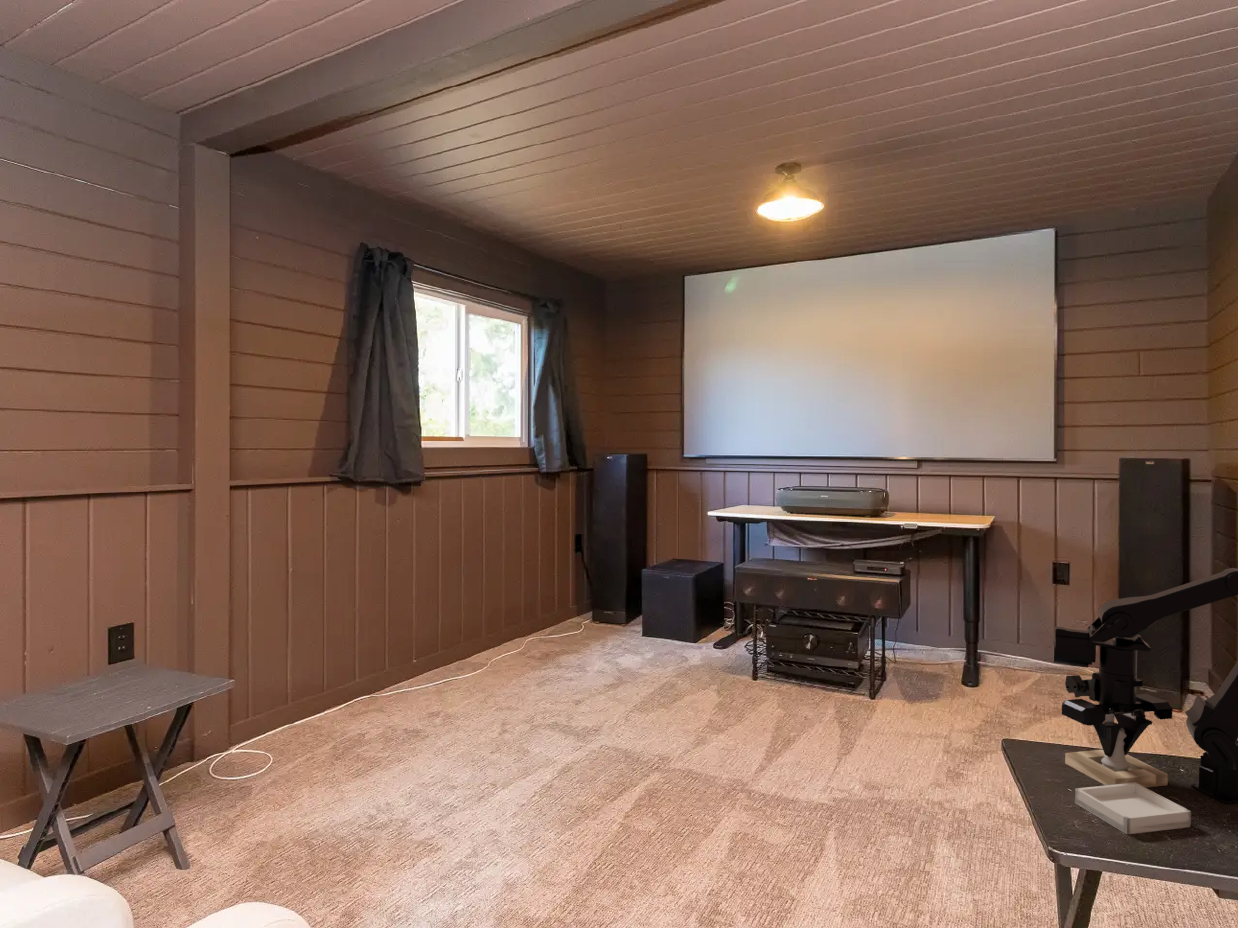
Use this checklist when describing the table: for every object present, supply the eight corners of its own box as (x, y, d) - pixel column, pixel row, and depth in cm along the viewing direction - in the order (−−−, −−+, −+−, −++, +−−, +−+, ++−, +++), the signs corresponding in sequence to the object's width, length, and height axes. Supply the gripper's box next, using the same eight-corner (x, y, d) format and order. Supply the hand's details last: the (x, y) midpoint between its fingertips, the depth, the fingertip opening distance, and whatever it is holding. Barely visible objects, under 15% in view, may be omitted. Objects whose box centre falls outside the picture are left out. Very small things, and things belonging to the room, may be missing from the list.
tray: (1134, 796, 126) (1135, 782, 126) (1190, 826, 117) (1191, 811, 116) (1074, 802, 124) (1075, 788, 124) (1126, 834, 114) (1127, 818, 114)
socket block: (1114, 758, 141) (1114, 748, 141) (1167, 784, 131) (1167, 773, 131) (1065, 763, 139) (1065, 752, 139) (1114, 790, 128) (1115, 779, 128)
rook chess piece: (1134, 777, 132) (1135, 734, 132) (1106, 775, 133) (1107, 732, 133) (1122, 767, 137) (1123, 724, 136) (1096, 764, 138) (1097, 722, 137)
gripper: (1122, 655, 144) (1120, 734, 145) (1039, 660, 140) (1038, 741, 141) (1176, 673, 133) (1173, 758, 134) (1087, 679, 129) (1085, 766, 130)
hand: (1115, 755), depth 135 cm, fingers closed on rook chess piece, 3 cm apart
